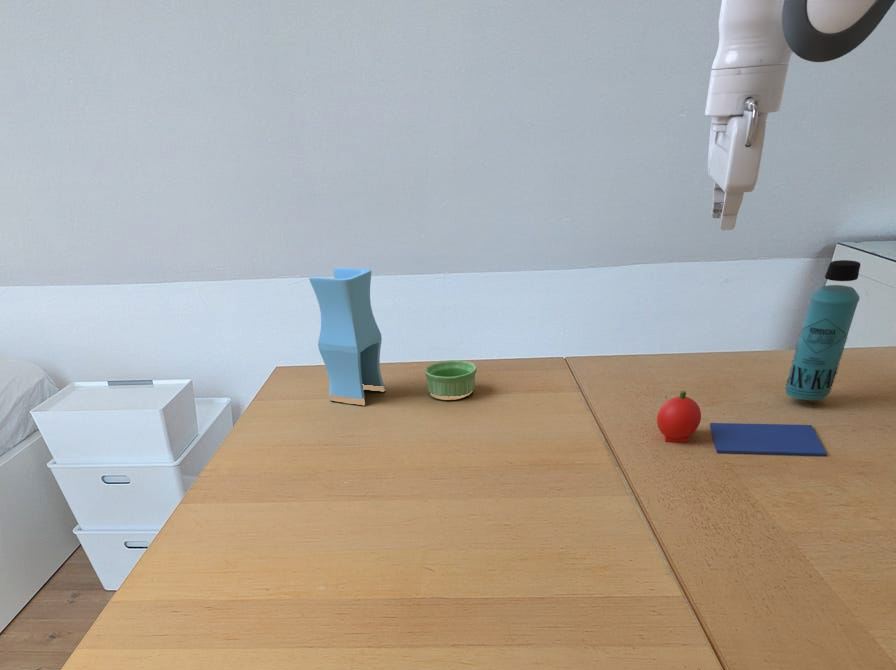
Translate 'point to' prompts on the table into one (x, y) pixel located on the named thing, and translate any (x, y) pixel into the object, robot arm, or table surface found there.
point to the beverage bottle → (824, 334)
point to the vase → (348, 332)
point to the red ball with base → (678, 418)
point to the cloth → (766, 439)
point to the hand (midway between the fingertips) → (721, 223)
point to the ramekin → (451, 378)
